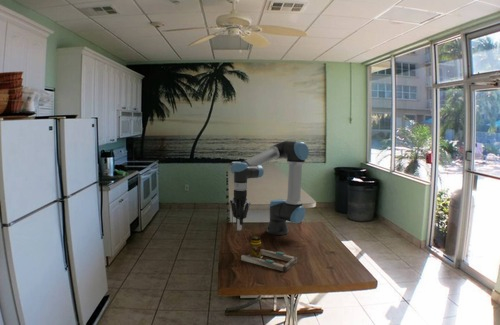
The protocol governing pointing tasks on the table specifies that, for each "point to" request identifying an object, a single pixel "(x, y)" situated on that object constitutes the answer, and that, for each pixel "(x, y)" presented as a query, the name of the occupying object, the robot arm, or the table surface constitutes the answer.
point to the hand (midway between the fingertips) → (239, 229)
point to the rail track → (271, 263)
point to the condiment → (255, 247)
